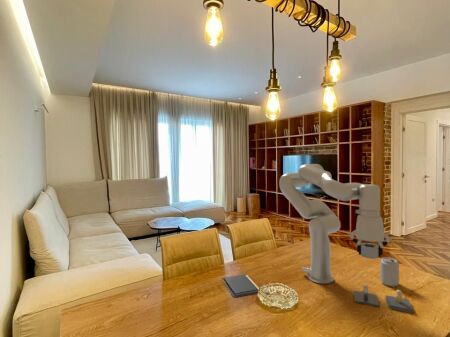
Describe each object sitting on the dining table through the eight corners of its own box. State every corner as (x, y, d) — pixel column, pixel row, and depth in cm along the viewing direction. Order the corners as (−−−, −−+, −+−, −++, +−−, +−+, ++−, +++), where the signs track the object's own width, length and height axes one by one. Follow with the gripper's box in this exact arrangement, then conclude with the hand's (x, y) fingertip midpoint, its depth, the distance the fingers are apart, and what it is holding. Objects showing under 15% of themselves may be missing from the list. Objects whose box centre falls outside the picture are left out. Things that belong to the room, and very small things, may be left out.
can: (401, 288, 118) (402, 262, 118) (384, 286, 120) (384, 261, 119) (394, 280, 126) (394, 256, 125) (377, 279, 127) (378, 255, 127)
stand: (354, 302, 107) (354, 288, 107) (353, 292, 115) (353, 279, 115) (379, 307, 103) (379, 292, 103) (376, 296, 111) (376, 282, 111)
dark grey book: (220, 275, 130) (247, 271, 134) (220, 279, 130) (247, 275, 134) (232, 295, 111) (264, 290, 115) (232, 300, 111) (264, 294, 115)
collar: (361, 257, 106) (361, 247, 106) (360, 252, 112) (360, 242, 112) (379, 259, 103) (379, 248, 103) (377, 254, 109) (377, 244, 109)
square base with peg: (389, 308, 102) (389, 292, 102) (385, 298, 110) (385, 283, 109) (413, 313, 99) (413, 297, 99) (407, 302, 106) (408, 287, 106)
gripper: (347, 213, 107) (347, 255, 108) (395, 216, 100) (395, 261, 101) (346, 210, 114) (346, 249, 115) (391, 213, 107) (391, 254, 108)
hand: (369, 254), depth 108 cm, fingers closed on collar, 6 cm apart
